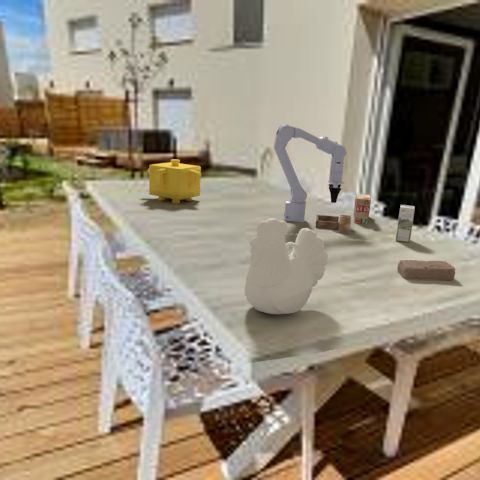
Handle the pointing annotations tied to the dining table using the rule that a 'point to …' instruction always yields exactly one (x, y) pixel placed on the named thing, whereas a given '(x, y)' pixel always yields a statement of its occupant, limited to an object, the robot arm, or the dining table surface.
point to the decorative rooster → (283, 268)
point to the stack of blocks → (362, 208)
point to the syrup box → (405, 223)
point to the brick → (426, 270)
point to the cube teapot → (174, 181)
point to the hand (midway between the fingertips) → (333, 201)
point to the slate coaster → (343, 232)
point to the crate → (327, 222)
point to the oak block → (344, 223)
